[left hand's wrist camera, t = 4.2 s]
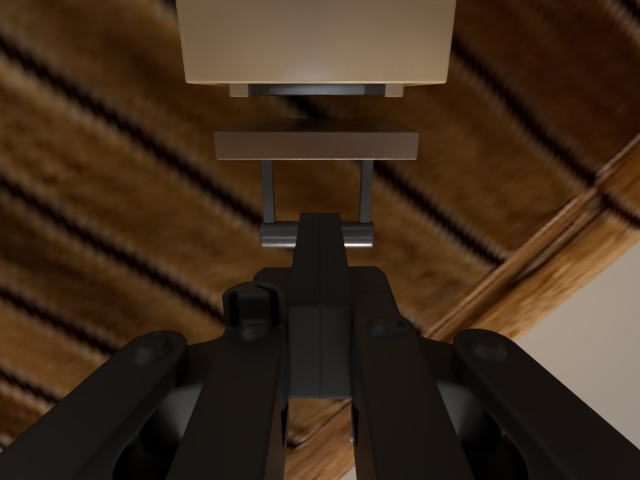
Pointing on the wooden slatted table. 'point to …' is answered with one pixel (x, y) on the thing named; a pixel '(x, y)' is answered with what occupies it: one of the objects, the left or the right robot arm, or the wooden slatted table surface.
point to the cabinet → (316, 41)
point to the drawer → (316, 150)
